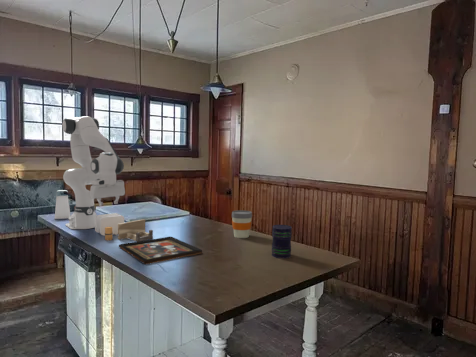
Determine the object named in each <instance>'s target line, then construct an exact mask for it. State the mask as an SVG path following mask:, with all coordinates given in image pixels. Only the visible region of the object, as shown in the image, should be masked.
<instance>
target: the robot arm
mask: <svg viewBox="0 0 476 357" xmlns="http://www.w3.org/2000/svg"><path fill="white" fill-rule="evenodd" d="M61 127H62V129H63V132H64V133H65V134H68V135H70V141H69V142H70V151H71V157H72V158H71V159H72V160H73V161H74V163H76V164H78V165H80V167H78V168H74V167H73V168H69V169H67V170H65V171H64V172H63V178H62V179H63V182H64V183H65V184H66V185H67V186H69V187H70V188H71V189H72V190H73V193H74V197H75V206H74V211H73V213H71V214H70V215H71V216H70V218H68V222H67V223H65V226H66V227H67V228H69V229H71V230H88V229H93V228H94V229H95V217H96V216H97V215H98V214H97V213H96V211H95V210H96V207H95V206H96V205H95V199H96V200H97V202H98V206H99V207H103V206H104V202H103V201H101V200H102V199H103V198H104V199H105V198H113V197H115V200H114V201H113V204H114V205H119V203H118V202H119V200H120V196H121V197H122V196H123V197H124V196H125V195H126V189H125V181H124V180H123V179H117V175H120V174H121V173H122V172H123V170H124V168H125V165H124V162H123V159H121V158H120V157H119V155H118V154H117V152H116V150H115V148H114V146H113V145H112V143H111V141H110V140H109V139H108V138H107V137H105V136H104V135H103V134H102V132H100V122H99V120H98V118H95V117H91V116H88V115H86V116H85V115H84V116H79V117H78V116H76V117H73V116H72V117H71V116H70V117H65V118H64V119H63V120H62V126H61ZM90 147H93V148H96V149H100V150H102V151H103V152H101V153H99V156H98V157H96V158H93V159H92V156H91V155H92V154H91V151H90V150H91V149H90ZM87 185H91V186H90V189H87V188H86V186H87Z"/></svg>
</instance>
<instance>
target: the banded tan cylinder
mask: <svg viewBox="0 0 476 357" xmlns="http://www.w3.org/2000/svg"><path fill="white" fill-rule="evenodd" d="M113 235H114V234H113V233H112V227H105V236H104V240H105V241H112V240H113Z"/></svg>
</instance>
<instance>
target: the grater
mask: <svg viewBox="0 0 476 357" xmlns="http://www.w3.org/2000/svg"><path fill="white" fill-rule="evenodd" d="M57 192H67V193H68V192H69V191H68V190H66V189H64V190H63V189H59V190H57V191H56V194H55V196H56V199H55V209H54V211H55V212H54V220H59V219H62V220H63V219H69V218H70V216H71V215H72V214H71V209H70V208H71V207H70V202H69V195H68V194H67V195H58V194H57Z"/></svg>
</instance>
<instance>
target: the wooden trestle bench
mask: <svg viewBox="0 0 476 357" xmlns="http://www.w3.org/2000/svg"><path fill="white" fill-rule="evenodd" d="M153 233H154V230H153V229H149V230H148V232H146V219H143V218H142V219H138V220H133V221H126V222H124V223H120V224H118V235H117V239H118V240H124V239H127V240H132V241H133V242H139V241H145V240H148V239H149V240H152V239H154V238H153V237H154V234H153Z"/></svg>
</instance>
